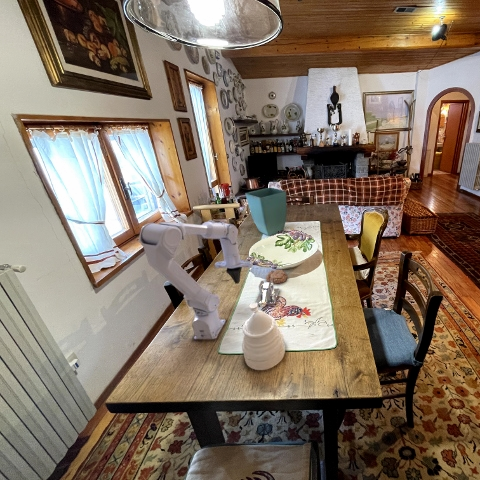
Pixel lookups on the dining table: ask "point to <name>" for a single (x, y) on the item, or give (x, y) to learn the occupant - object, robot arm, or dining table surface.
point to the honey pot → (262, 340)
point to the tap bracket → (268, 294)
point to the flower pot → (268, 209)
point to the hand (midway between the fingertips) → (237, 282)
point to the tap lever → (264, 294)
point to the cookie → (276, 276)
